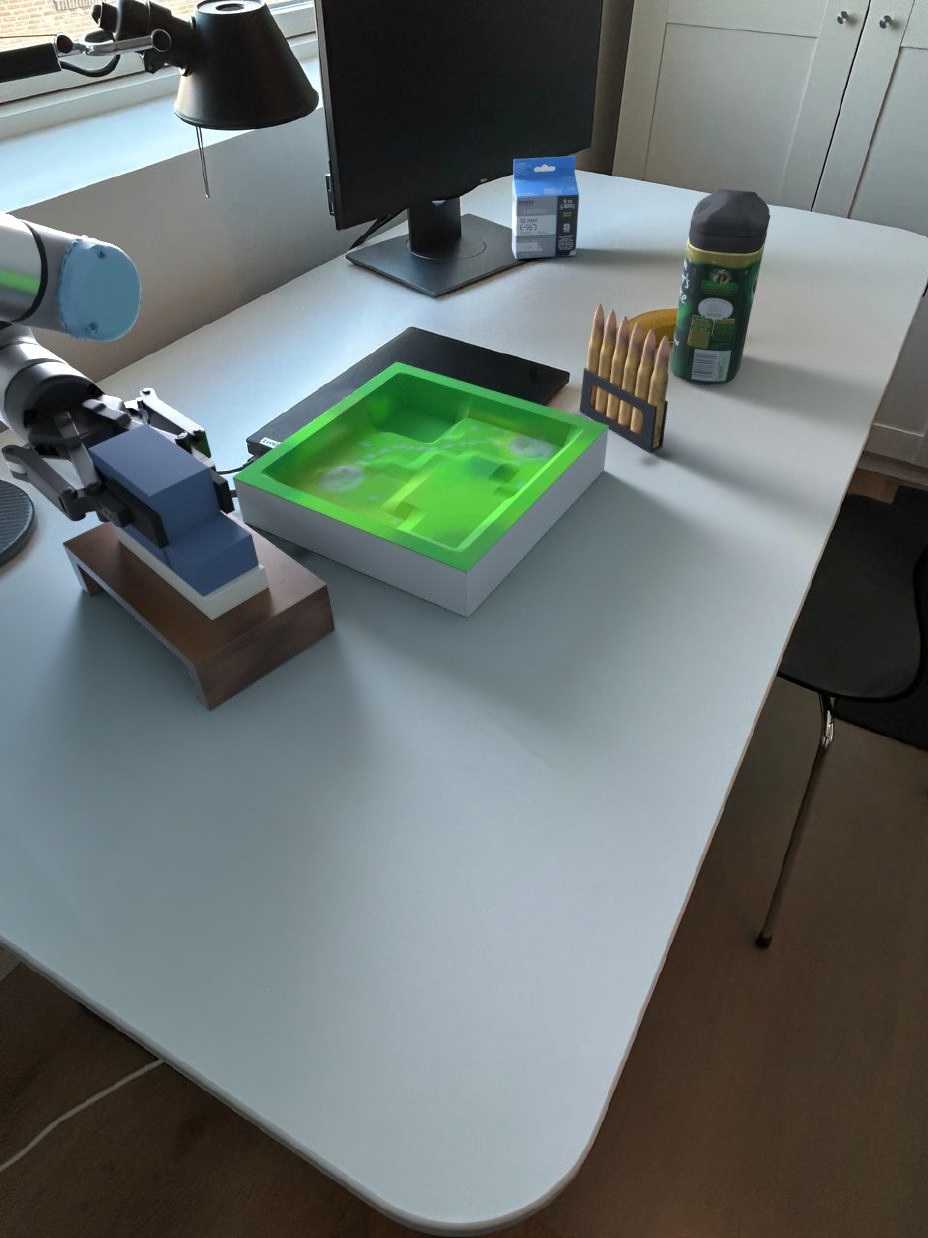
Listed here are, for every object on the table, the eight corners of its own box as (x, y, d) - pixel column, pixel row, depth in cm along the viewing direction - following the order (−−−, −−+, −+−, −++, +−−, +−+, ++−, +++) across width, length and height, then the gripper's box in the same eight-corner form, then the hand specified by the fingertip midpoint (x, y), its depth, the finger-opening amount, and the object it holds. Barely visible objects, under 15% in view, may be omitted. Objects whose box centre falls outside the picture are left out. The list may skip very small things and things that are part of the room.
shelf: (210, 711, 65) (194, 665, 62) (81, 588, 76) (61, 542, 72) (335, 629, 71) (327, 583, 68) (200, 526, 82) (187, 481, 78)
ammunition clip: (578, 410, 95) (586, 303, 87) (591, 405, 96) (600, 298, 88) (650, 453, 89) (666, 342, 81) (663, 446, 90) (680, 336, 81)
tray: (468, 618, 72) (466, 571, 69) (243, 521, 82) (232, 477, 79) (604, 469, 87) (608, 425, 84) (399, 403, 97) (396, 361, 94)
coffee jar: (675, 344, 106) (700, 179, 93) (742, 352, 104) (778, 185, 91) (662, 382, 99) (687, 211, 86) (734, 392, 97) (771, 218, 84)
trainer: (212, 620, 65) (182, 524, 59) (117, 539, 73) (82, 446, 66) (269, 587, 68) (246, 491, 62) (172, 512, 75) (143, 419, 69)
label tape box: (514, 260, 125) (516, 167, 117) (511, 249, 128) (512, 157, 120) (575, 257, 125) (581, 164, 117) (571, 246, 128) (576, 154, 120)
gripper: (151, 402, 83) (301, 502, 71) (-38, 482, 74) (97, 613, 62) (128, 326, 78) (285, 421, 66) (-78, 403, 69) (61, 529, 57)
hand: (194, 514), depth 64 cm, fingers closed on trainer, 5 cm apart
